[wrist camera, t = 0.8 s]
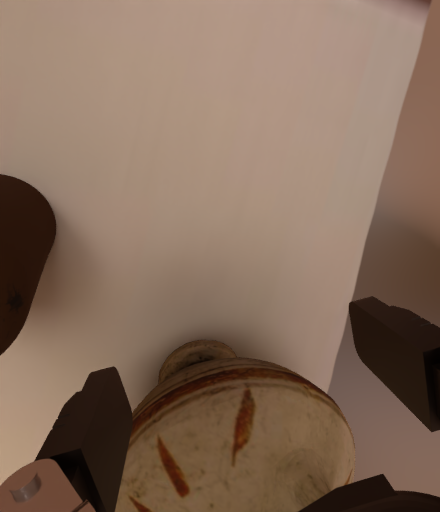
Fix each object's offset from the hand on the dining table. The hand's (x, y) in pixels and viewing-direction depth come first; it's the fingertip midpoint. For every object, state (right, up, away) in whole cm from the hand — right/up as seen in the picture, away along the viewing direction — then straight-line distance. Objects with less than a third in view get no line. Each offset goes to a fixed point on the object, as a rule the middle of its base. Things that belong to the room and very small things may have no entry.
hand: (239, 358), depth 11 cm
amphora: (-4, -12, +34) cm, 36 cm away
